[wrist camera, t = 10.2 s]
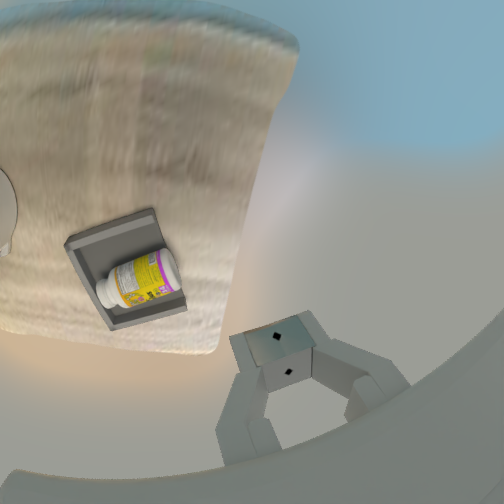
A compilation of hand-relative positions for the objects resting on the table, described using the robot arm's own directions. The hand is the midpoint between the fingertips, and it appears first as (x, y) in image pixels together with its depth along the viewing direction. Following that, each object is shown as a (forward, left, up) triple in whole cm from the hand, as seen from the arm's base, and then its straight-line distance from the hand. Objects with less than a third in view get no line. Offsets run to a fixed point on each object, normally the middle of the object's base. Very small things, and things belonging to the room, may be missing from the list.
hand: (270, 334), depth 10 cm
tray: (-14, -14, -33) cm, 39 cm away
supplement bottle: (-6, -13, -29) cm, 33 cm away
